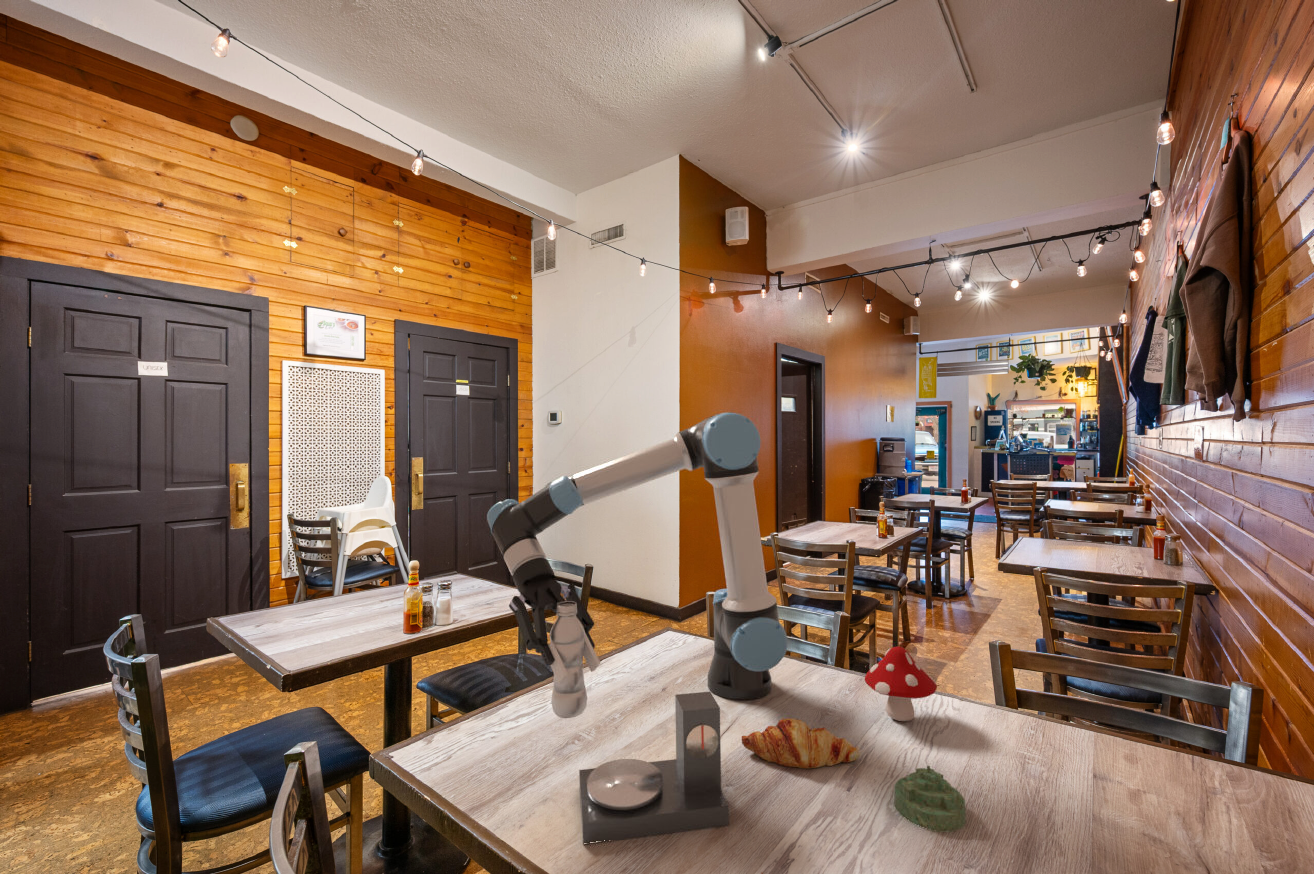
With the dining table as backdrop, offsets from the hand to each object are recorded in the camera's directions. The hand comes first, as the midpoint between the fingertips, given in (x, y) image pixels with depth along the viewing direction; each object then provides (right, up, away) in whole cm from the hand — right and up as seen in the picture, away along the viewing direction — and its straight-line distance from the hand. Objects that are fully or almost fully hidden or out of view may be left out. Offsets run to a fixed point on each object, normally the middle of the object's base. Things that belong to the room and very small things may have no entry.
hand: (579, 672), depth 101 cm
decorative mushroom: (+65, -17, +18) cm, 69 cm away
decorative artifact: (+56, -17, -11) cm, 60 cm away
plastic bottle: (-2, -9, +3) cm, 9 cm away
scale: (+13, -18, -9) cm, 23 cm away
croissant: (+40, -18, +4) cm, 44 cm away
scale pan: (+9, -14, -10) cm, 19 cm away
